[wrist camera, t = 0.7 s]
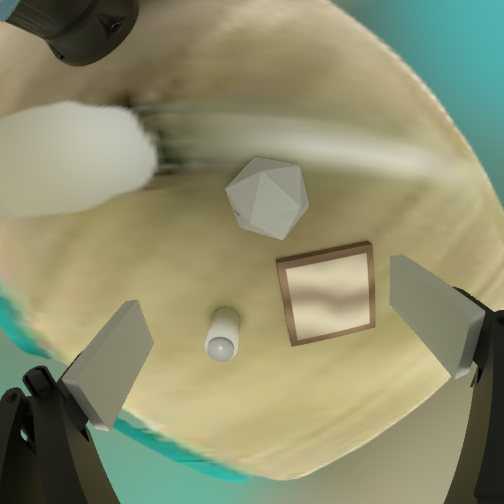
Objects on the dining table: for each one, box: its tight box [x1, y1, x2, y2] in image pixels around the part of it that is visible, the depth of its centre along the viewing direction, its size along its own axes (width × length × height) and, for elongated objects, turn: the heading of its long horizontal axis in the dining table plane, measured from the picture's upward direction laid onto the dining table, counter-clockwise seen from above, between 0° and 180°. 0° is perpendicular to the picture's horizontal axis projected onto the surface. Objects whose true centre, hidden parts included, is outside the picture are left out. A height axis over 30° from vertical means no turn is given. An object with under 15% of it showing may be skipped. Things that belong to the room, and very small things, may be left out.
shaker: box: [205, 308, 240, 361], centre depth 36 cm, size 4×4×8 cm
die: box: [225, 156, 309, 240], centre depth 31 cm, size 8×9×10 cm
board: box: [276, 241, 375, 347], centre depth 38 cm, size 13×13×2 cm
